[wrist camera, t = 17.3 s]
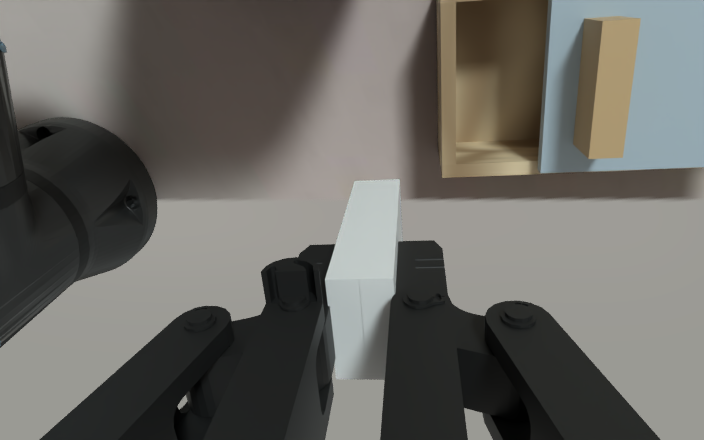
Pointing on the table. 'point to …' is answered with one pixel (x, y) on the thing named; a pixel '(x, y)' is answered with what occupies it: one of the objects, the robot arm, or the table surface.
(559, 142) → the lid
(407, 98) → the table surface
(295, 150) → the table surface
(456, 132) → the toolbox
